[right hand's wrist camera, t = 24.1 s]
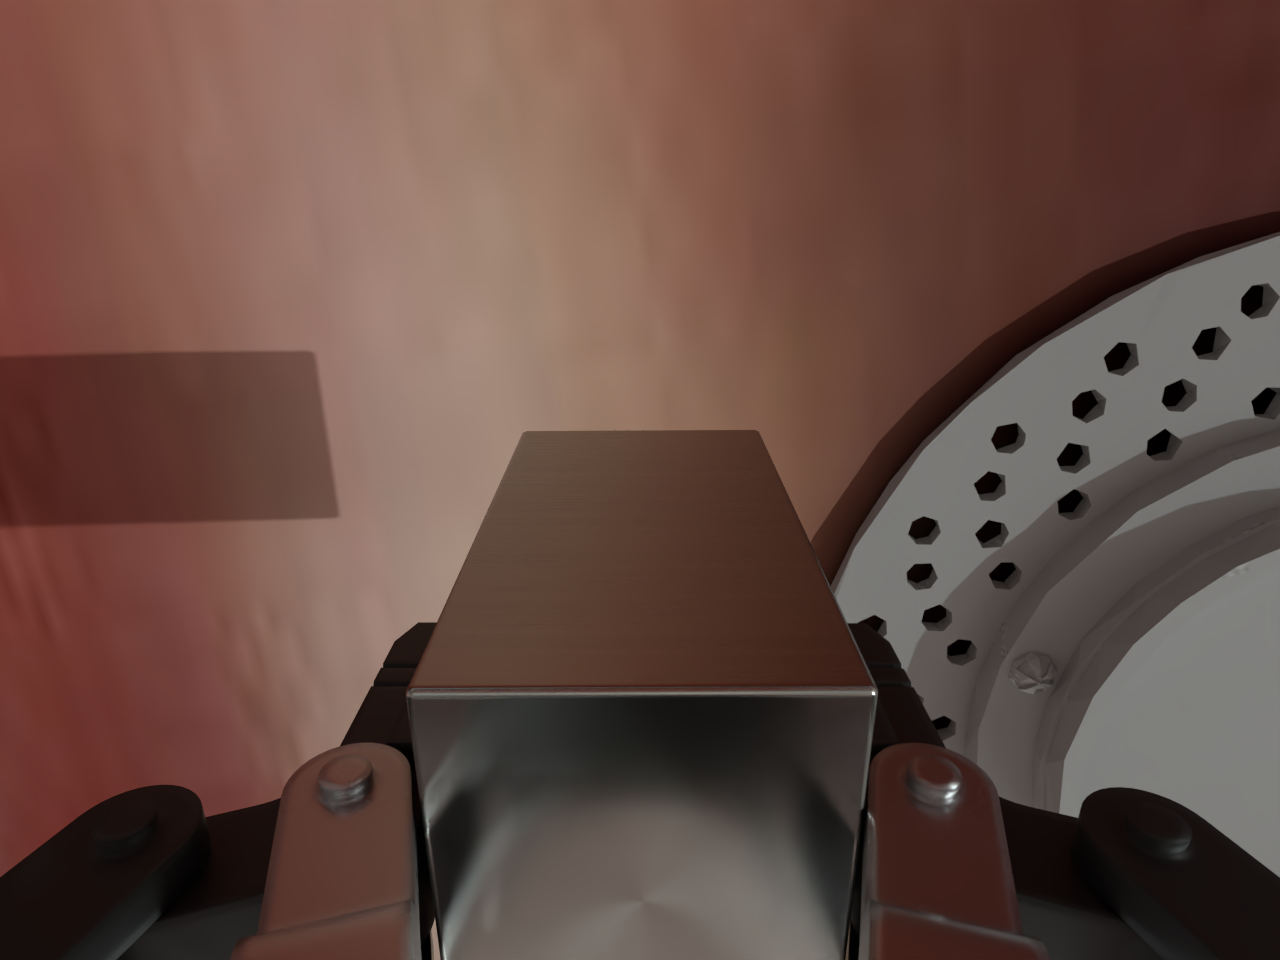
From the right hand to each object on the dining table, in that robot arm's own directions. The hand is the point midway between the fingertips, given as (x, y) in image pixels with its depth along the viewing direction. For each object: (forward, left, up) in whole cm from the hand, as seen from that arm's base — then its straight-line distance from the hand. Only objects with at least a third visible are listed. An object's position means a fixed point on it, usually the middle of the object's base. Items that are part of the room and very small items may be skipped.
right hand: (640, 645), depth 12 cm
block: (0, 0, -3) cm, 3 cm away
